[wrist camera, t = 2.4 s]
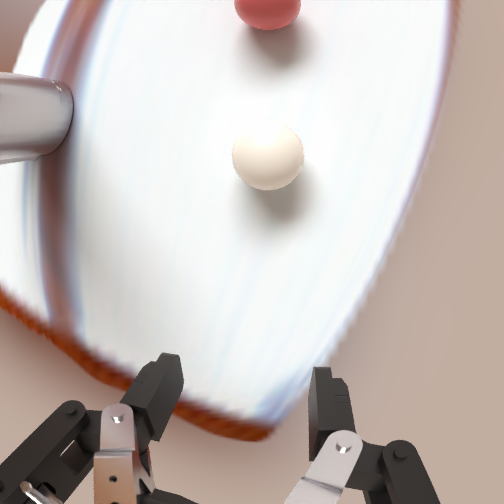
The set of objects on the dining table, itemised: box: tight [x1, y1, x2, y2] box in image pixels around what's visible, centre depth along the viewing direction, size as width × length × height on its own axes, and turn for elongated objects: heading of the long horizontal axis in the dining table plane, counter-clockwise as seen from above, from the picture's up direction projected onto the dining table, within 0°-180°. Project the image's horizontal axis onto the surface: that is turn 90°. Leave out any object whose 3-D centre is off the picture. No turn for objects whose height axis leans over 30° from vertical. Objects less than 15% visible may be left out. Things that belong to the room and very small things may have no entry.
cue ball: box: [232, 120, 304, 190], centre depth 21 cm, size 6×6×6 cm
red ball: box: [234, 0, 301, 30], centre depth 17 cm, size 6×6×6 cm
